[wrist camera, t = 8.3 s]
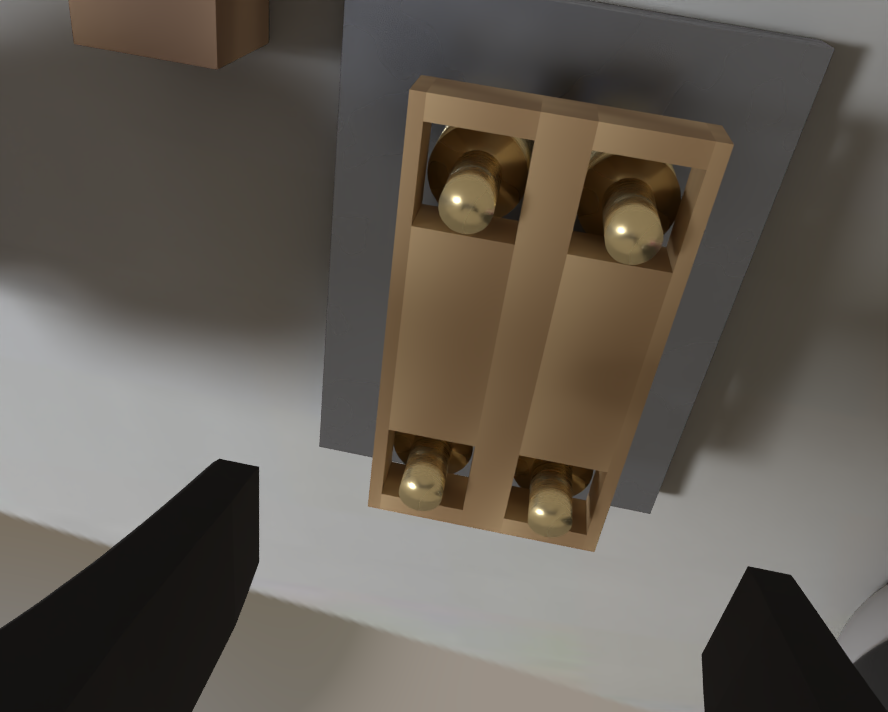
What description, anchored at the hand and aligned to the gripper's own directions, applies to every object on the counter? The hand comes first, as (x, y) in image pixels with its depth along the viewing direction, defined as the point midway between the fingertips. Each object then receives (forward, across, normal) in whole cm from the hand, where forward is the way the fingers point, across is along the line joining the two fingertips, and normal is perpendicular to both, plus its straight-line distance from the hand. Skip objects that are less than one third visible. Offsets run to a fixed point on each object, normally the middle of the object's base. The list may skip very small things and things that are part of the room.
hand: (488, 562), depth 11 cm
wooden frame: (+7, 0, 0) cm, 7 cm away
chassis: (+10, 0, 0) cm, 10 cm away
